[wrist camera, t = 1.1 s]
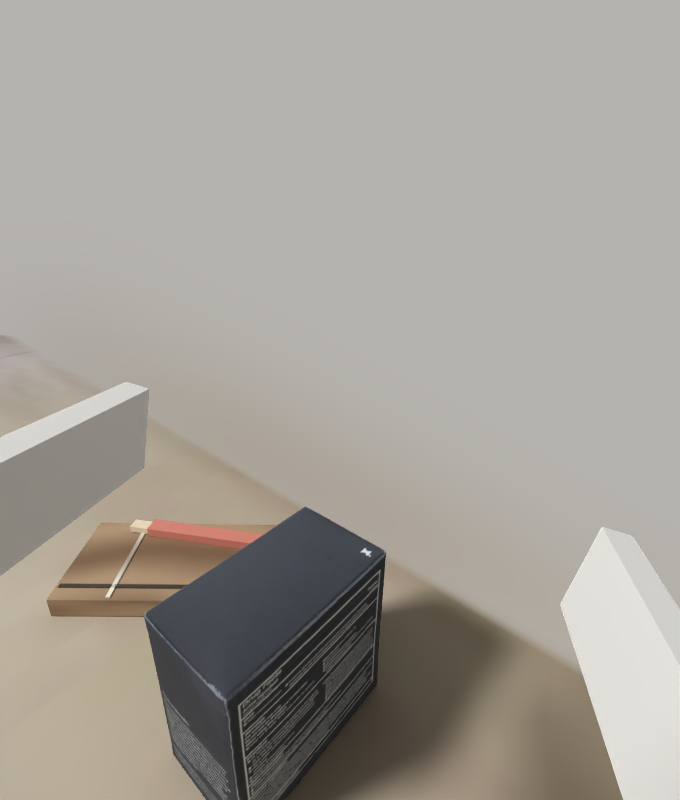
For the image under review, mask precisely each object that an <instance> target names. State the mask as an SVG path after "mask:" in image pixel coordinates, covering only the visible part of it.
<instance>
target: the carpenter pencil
mask: <svg viewBox="0 0 680 800" xmlns="http://www.w3.org/2000/svg"><path fill="white" fill-rule="evenodd" d="M130 530H131V532H138V533H145V534H148V536H154V537H161V538H168V539H175V540H182V541H189V542H196V543H202V544H209V545H216V546H223V547H230V548H237V549H243V548H244V547H246V546H247V545H249V544H250V543H252V542H253V541H255V540H256V539H258V538H259V537H261V536H262V535H264V534H257V533H249V532H242V531H235V530H228V529H220V528H213V527H206V526H199V525H191V524H184V523H177V522H170V521H163V520H154V521H153V522H150V521H143V520H135V521H134V522H133V524H132V525H131V526H130Z"/></svg>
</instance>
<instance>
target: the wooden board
mask: <svg viewBox="0 0 680 800" xmlns="http://www.w3.org/2000/svg"><path fill="white" fill-rule="evenodd" d="M132 524H133V523H101V524H100V525H99V526H98V528H97V529H96V531H95V532H94V534H93V535H92V536H91V538H90V539H89V541H88V542H87V543H86V545H85V546H84V548H83V549H82V550H81V552H80V553H79V555H78V556H77V558H76V559H75V560H74V562H73V563H72V565H71V566H70V567H69V569H68V570H67V572H66V573H65V574H64V576H63V577H62V579H61V580H60V582H59V583H58V584H57V586H56V587H55V589H54V590H53V591H52V593H51V594H50V596H49V597H48V598H47V603H48V607H49V610H50V613H51V616H145V613H146V612H147V611H148V610H150V609H151V608H153V607H155V606H156V605H158V604H159V603H161V602H162V601H164V600H165V599H167V598H168V597H170V596H171V595H173V594H174V593H176V592H177V591H179V590H180V589H182V588H184V587H185V586H187V585H188V584H190V583H191V582H193V581H194V580H196V579H197V578H199V577H200V576H202V575H203V574H205V573H206V572H208V571H209V570H211V569H212V568H214V567H215V566H217V565H218V564H220V563H221V562H223V561H224V560H226V559H227V558H229V557H230V556H232V555H233V554H235V553H236V552H238V551H239V550H241V549H237V548H230V547H223V546H216V545H209V544H202V543H196V542H189V541H182V540H175V539H168V538H161V537H154V536H148V534H145V533H138V532H131V530H130V526H131V525H132ZM191 525H199V526H206V527H213V528H220V529H228V530H235V531H242V532H249V533H257V534H265V533H267V532H268V531H270V530H271V529H273V528H274V527H276V526H277V525H212V524H191Z"/></svg>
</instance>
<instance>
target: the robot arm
mask: <svg viewBox="0 0 680 800" xmlns="http://www.w3.org/2000/svg"><path fill="white" fill-rule="evenodd" d="M148 399H149V389H148V388H145V387H141V386H138V385H135V384H131V383H128V382H125V383H122V384H120V385H118V386H116V387H113V388H111V389H109V390H106V391H104V392H102V393H100V394H97V395H95V396H93V397H91V398H88V399H86V400H84V401H81V402H79V403H77V404H75V405H72V406H70V407H68V408H65V409H63V410H61V411H59V412H56V413H54V414H52V415H50V416H47V417H45V418H43V419H40V420H38V421H36V422H34V423H31V424H29V425H27V426H25V427H22V428H20V429H18V430H15V431H13V432H11V433H9V434H6V435H4V436H2V437H0V576H1V575H2V574H4V573H5V572H6V571H7V570H9V569H10V568H11V567H13V566H14V565H15V564H17V563H18V562H19V561H21V560H22V559H23V558H25V557H26V556H27V555H29V554H30V553H31V552H33V551H34V550H35V549H37V548H38V547H39V546H41V545H42V544H43V543H45V542H46V541H47V540H49V539H50V538H51V537H53V536H54V535H55V534H57V533H58V532H59V531H61V530H62V529H63V528H65V527H66V526H67V525H69V524H70V523H71V522H73V521H74V520H75V519H77V518H78V517H79V516H81V515H82V514H83V513H85V512H86V511H87V510H89V509H90V508H91V507H93V506H94V505H95V504H97V503H98V502H99V501H100V500H102V499H103V498H104V497H106V496H107V495H108V494H110V493H111V492H112V491H114V490H115V489H116V488H118V487H119V486H120V485H122V484H123V483H124V482H126V481H127V480H128V479H130V478H131V477H132V476H134V475H135V474H136V473H138V472H139V471H140V470H142V469H143V468H144V459H145V444H146V429H147V414H148ZM560 606H561V608H562V612H563V614H564V618H565V621H566V624H567V627H568V630H569V633H570V637H571V640H572V643H573V646H574V649H575V652H576V655H577V658H578V661H579V664H580V667H581V671H582V674H583V677H584V680H585V683H586V686H587V689H588V692H589V695H590V698H591V702H592V705H593V708H594V711H595V714H596V717H597V720H598V723H599V726H600V729H601V732H602V736H603V739H604V742H605V745H606V748H607V751H608V754H609V757H610V760H611V763H612V767H613V770H614V773H615V776H616V779H617V782H618V785H619V788H620V791H621V794H622V797H623V800H680V609H679V608H678V606H677V605H676V603H675V602H674V600H673V598H672V597H671V595H670V594H669V592H668V591H667V589H666V588H665V586H664V585H663V583H662V581H661V580H660V578H659V577H658V575H657V574H656V572H655V570H654V569H653V567H652V566H651V564H650V563H649V561H648V560H647V558H646V557H645V555H644V554H643V552H642V550H641V549H640V547H639V546H638V544H637V543H636V541H635V540H634V538H633V536H631V535H628V534H624V533H621V532H618V531H615V530H611V529H608V528H604V527H602V528H601V530H600V531H599V533H598V535H597V537H596V539H595V540H594V542H593V544H592V546H591V548H590V550H589V552H588V554H587V555H586V558H585V559H584V561H583V563H582V565H581V567H580V569H579V570H578V572H577V574H576V576H575V578H574V580H573V582H572V584H571V585H570V587H569V589H568V591H567V593H566V595H565V596H564V598H563V600H562V602H561V604H560Z"/></svg>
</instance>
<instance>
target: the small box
mask: <svg viewBox="0 0 680 800" xmlns="http://www.w3.org/2000/svg"><path fill="white" fill-rule="evenodd" d="M385 558H386V551H385V550H383V549H382V548H380V547H378V546H376V545H374V544H372V543H370V542H369V541H367V540H365V539H363V538H361V537H360V536H358V535H356V534H355V533H353V532H351V531H349V530H347V529H345V528H344V527H342V526H340V525H338V524H336V523H335V522H333V521H331V520H330V519H328V518H326V517H324V516H322V515H321V514H319V513H317V512H315V511H313V510H311V509H310V508H308V507H304V508H302V509H301V510H300V511H298V512H296V513H295V514H294V515H292V516H290V517H289V518H287V519H286V520H284V521H283V522H281V523H280V524H279V525H277V526H276V527H274V528H273V529H271V530H270V531H268V532H267V533H265V534H264V535H262V536H261V537H259V538H258V539H256V540H255V541H253V542H252V543H250V544H249V545H247V546H246V547H244V548H243V549H241V550H239V551H238V552H236V553H235V554H233V555H232V556H230V557H229V558H227V559H226V560H224V561H223V562H221V563H220V564H218V565H217V566H215V567H214V568H212V569H211V570H209V571H208V572H206V573H205V574H203V575H202V576H200V577H199V578H197V579H196V580H194V581H193V582H191V583H190V584H188V585H187V586H185V587H184V588H182V589H180V590H179V591H177V592H176V593H174V594H173V595H171V596H170V597H168V598H167V599H165V600H164V601H162V602H161V603H159V604H158V605H156V606H155V607H153V608H151V609H150V610H148V611H147V612H146V613H145V616H144V617H145V621H146V626H147V630H148V633H149V638H150V643H151V648H152V652H153V657H154V662H155V666H156V671H157V675H158V680H159V684H160V689H161V694H162V698H163V705H164V708H165V714H166V718H167V724H168V727H169V732H170V737H171V742H172V749H173V754H174V755H175V757H176V758H177V760H178V761H179V763H180V764H181V765H182V767H183V768H184V770H185V771H186V773H187V774H188V775H189V777H190V778H191V779H192V781H193V782H194V783H195V785H196V786H197V788H198V789H199V790H200V791H201V793H202V794H203V796H204V797H205V799H206V800H284V799H285V798H286V797H287V796H288V794H289V793H290V792H291V791H292V790H293V788H294V787H295V786H296V785H297V784H298V783H299V782H300V780H301V778H302V777H303V776H304V775H305V773H306V772H307V771H308V770H309V768H310V767H311V766H312V765H313V763H314V762H315V761H316V759H317V758H318V757H319V756H320V754H321V753H322V752H323V751H324V750H325V749H326V747H327V746H328V744H329V743H330V742H331V741H332V739H333V738H334V737H335V736H336V735H337V733H338V732H339V731H340V729H341V728H342V727H343V726H344V725H345V723H346V722H347V721H348V719H349V718H350V717H351V716H352V714H353V713H354V712H355V711H356V709H357V708H358V707H359V706H360V704H361V703H362V702H363V700H364V699H365V698H366V696H367V695H368V694H369V693H370V691H371V690H372V689H373V688H374V686H375V685H376V684H377V666H378V646H379V633H380V620H381V610H382V595H383V586H384V571H385Z"/></svg>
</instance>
